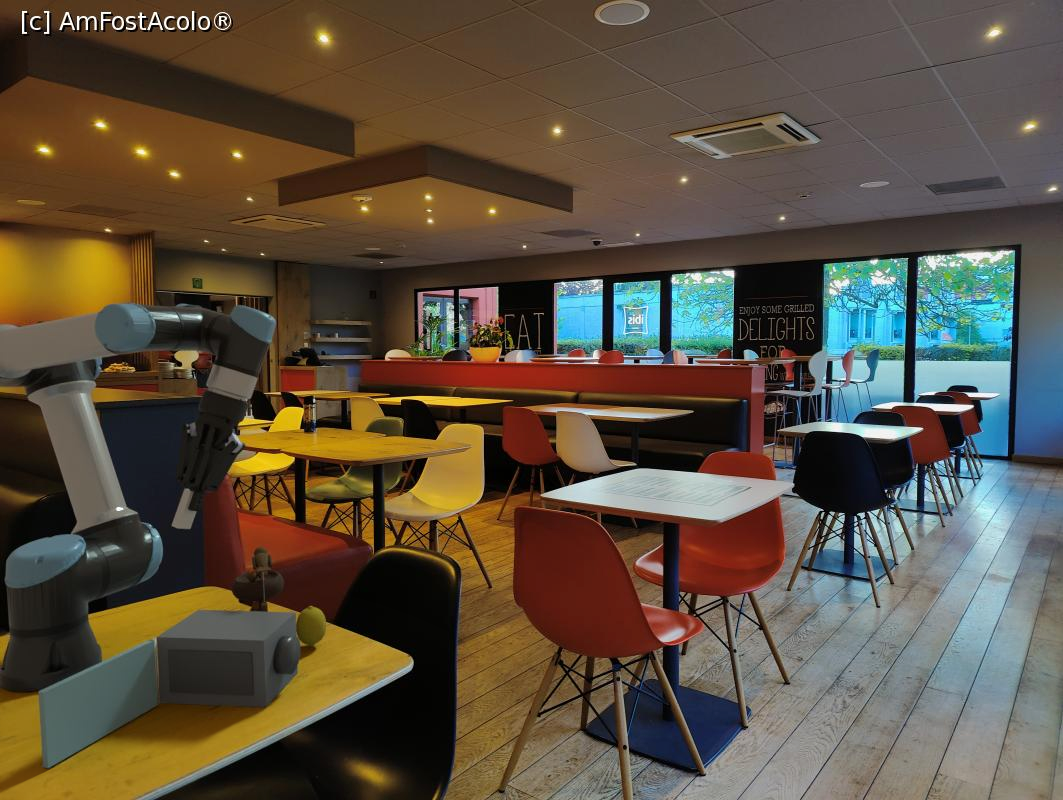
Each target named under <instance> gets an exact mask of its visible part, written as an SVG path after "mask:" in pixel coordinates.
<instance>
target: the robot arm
mask: <svg viewBox="0 0 1063 800" xmlns="http://www.w3.org/2000/svg"><path fill="white" fill-rule="evenodd" d="M276 324H277V321H276V319H275V318H274V316H273V315H270V314H269V313H266V312H264V311H261V310H259V309H256V308H253V307H249V306H246V305H241V304H237V305H235V306H233V309H232V311H231V312H230V314H225V313H222V312H219V311H215V310H211V309H208V308H204V307H202V306H201V305H198V304H197V305H194V304H187V303H179V304H177V305H175V306H169V305H168V306H167V305H154V304H152V305H151V304H139V303H134V302H121V303H109V304H107V305H105V306H103V307H102V310H99V311H97V312H91V313H86V314H81V315H75V316H70V317H65V318H60V319H55V320H49V321H43V322H39V323H33V324H30V325H29V324H27V325H13V324H9V323H7V324H0V387H1V388H23V387H24V391H25V393H26V397H27V399H28V401H29V402H31V403H34V404H36V405H38V406H39V407H40V409H41V412H42V415H43V420H44V422H45V426H46V429H47V431H48V435H49V438H50V442H51V444H52V447H53V450H54V453H55V457H56V459H57V463H58V465H59V469H60V473H61V475H62V476H61V477H62V478H63V482H64V485H65V487H66V491H67V494H68V497H69V500H70V504H71V508H72V509H73V513H74V516H75V519H76V524H75V526H74V528H73V530H71V533H70V534H68V533H67V534H66V533H65V534H58V535H54V536H51V537H49V536H47V537H43V538H39V539H36V540H33V541H30V542H28V543H25V544H23V545H21V546H19V547H17V548H16V549H15V550H13V551H12V552H11V553H10V554H9V555H8V557H7V559H6V562H5V577H4V583H5V586H6V595H7V596H6V597H7V614H8V626H9V627H8V628H9V629H8V630H9V639H8V642H7V645H6V648H5V652H4V656H3V659H2V664H1V666H0V687H1V688H3V689H4V690H8V691H11V692H32V691H34V692H35V691H40V690H43V689H45V688H47V687H49V686H51V685H53V684H55V683H58V682H60V681H62V680H64V679H66V678H68V677H70V676H73V675H75V674H77V673H79V672H81V671H83V670H85V669H88V668H90V667H92V666H94V665H96V664H98V663H100V662H103V651H102V648H101V646H100V644H99V643H98V640H97V638H96V636H95V633H94V631H93V629H92V626H91V625H90V621H89V620H90V619H89V618H90V617H89V603H90V602H92V601H95V600H99V599H102V598H104V597H106V596H110V595H112V594H115V593H118V592H120V591H123V590H126V589H130V588H133V587H136V586H137V585H139V584H141V583H143V582H145V581H147V580H149V579H150V578H152V577H153V576H154V575H155V574H156V572H157V571H158V569H159V568H160V567H159V566H160V564H161V563H162V560H163V555H164V547H163V540H162V538H161V535H160V533H159V531H158V530H157V529H156V528H154V527H153V525H151V524H150V523H148V522H143V521H142V522H141V519H140V515H139V513H138V512H137V511H135V510H133V509H131V508H129V507H127V504H126V501H125V498H124V495H123V491H122V489H121V486H120V482H119V479H118V476H117V474H116V470H115V466H114V464H113V461H112V458H111V455H110V451H109V448H108V445H107V442H106V439H105V435H104V432H103V429H102V427H101V423H100V421H99V420H100V419H99V417H98V414H97V412H96V408H95V405H94V402H93V399H92V397H91V395H92V392H93V391H94V390H95V388H96V386H97V384H96V381H95V380H96V379H97V378H99V375H100V374H101V371H102V367H101V365H102V364H103V362H102V361H103V358H108V357H114V356H119V355H129V354H134V353H141V352H161V351H163V352H176V351H177V352H179V351H183V352H185V351H186V352H187V351H189V352H190V351H197V352H203V353H207V354H209V355H213V356H215V359H214V361H213V364H212V366H211V367H212V368H211V371H210V373H209V376H208V378H207V381H206V384H205V385H206V387H208V389H206V390H205V391H203V393H202V396H201V398H200V401H199V404H198V407H197V408H198V410H199V415H198V416H197V417H196V418H195V420H194V422H192V423H189V424H187V423H183V424H181V428H180V430H181V437H182V438H181V442H180V449H179V455H178V460H177V461H178V462H177V466H176V472H175V480H176V481H178V482H179V483H180V484H181V487H182V489H181V491H180V493H179V496H178V500H177V510H176V512H175V515H174V517H173V521H172V523H171V527H174V528H176V529H181V530H182V529H183V530H190V529H191V528H192V525H193V522H194V519H195V517H196V514H197V512H200V510H201V507H202V504H203V501H204V499H205V496H206V494H208V493H216V492H217V491H219V489H220V487H221V485H222V483H223V481H224V479H225V478H226V477H227V475H228V473H229V470H230V469H231V467H232V466H233V464H234V462H235V460H236V459H237V456H239V454H241V452H243V451H244V450H245V448H246V443H245V442H242V441H240V439H239V437H238V434H239V424H240V423H241V422H243V421H244V420H245V417H246V414H247V411H248V409H249V407H250V406H249V402H247V400H250V399H252V397H253V394H254V391H255V387H256V385H257V382H258V379H259V376H260V372H261V370H262V367H263V364H264V362H265V358H266V357H267V354H268V351H269V348H270V346H271V344H272V342H273V337H274V333H275V329H276V326H277V325H276Z"/></svg>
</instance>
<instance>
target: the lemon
mask: <svg viewBox="0 0 1063 800" xmlns="http://www.w3.org/2000/svg"><path fill="white" fill-rule="evenodd" d="M326 630H327V620H326V616H325V614H324V613H323V611H322V610H321V609H320V608H318V607H315V606H313V605H309V606H308V607H306V608H305V609H303V610H301V612H300V613H299V614H298V615H297V618H296V636H297V637H298V639H299V641H300V643H302V644H305V645H308V646H309V647H310V648H312V646H313V647H314V646H315V645H316V644H318V643H319V642H321V641H322V640H323V638H324V637H325V635H326V632H327V631H326Z"/></svg>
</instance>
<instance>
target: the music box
mask: <svg viewBox="0 0 1063 800" xmlns="http://www.w3.org/2000/svg"><path fill="white" fill-rule="evenodd" d="M252 553H253V556H252V557H251V565H252V569H250V570H249V572H244V573H242V574H239V575H237V576H236V578H234V580H233V581H232V584H231V593H232V595H233V596H234V597H235V598H236V599H237V600H238V601H237V602H238V603H239V604H242V605H245V606H246V607H247V606H248V607H250V609H249V611H262V612H269V609H268V607H269V606H268V602H267V601H268V600H269V599H272V598H275V597H277V596H278V595H279V594H280V593H281V592H282V590H283V589H284V585H285V582H284V581H285V580H284V578H283V576H282V574H281V573H280V572H279V571H276V570H272V567H273V562H272V557H271V554H268V550H267V549H266V548H265V547H263V546H258V547H256V548H255V550H254V551H253V552H252ZM256 569H257V570H256Z"/></svg>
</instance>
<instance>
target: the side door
mask: <svg viewBox="0 0 1063 800" xmlns="http://www.w3.org/2000/svg"><path fill="white" fill-rule="evenodd" d="M37 691H38V707H39V708H38V709H39V724H40V741H41V742H40V743H41V756H42V759H41V761H42V767H43V768H46V769H50V768H51V767H53V766H54V765H56V764H58V763H60V762H62V761H63V760H65V759H66V758H68V757H70V756H72V755H74V754H76V753H78V752H79V751H81V750H82V749H84V748H86V747H87V746H90V745H91V744H93V743H95V742H96V741H98V740H99V739H101V738H103V737H105V736H107V735H108V734H110V733H112V732H113V731H115V730H117V729H119V728H120V727H122V726H124V725H126V724H127V723H129V722H131V721H133V720H134V719H136V718H138V717H139V716H141V715H143V714H145V713H147V712H148V711H150V710H152V709H153V708H155V707H156V706H158V705H160V698H159V677H158V656H157V637H156V638H155V637H153V638H150V639H148V640H146V641H144V642H141V643H140V644H138V645H135V646H133V647H130V648H129V649H126V650H125V651H122V652H119V653H117V654H116V655H113V656H112V657H109V658H106V659H104V660H102V662H100V663H98V664H96V665H94V666H92V667H90V668H88V669H85V670H83V671H81V672H79V673H77V674H75V675H73V676H70V677H68V678H66V679H64V680H62V681H60V682H58V683H55V684H53V685H51V686H49V687H47V688H45V689H43V690H37Z"/></svg>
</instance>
